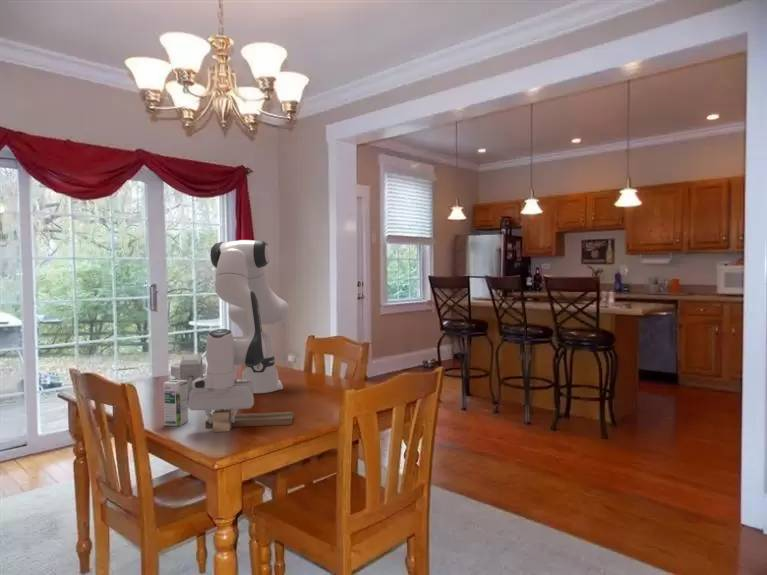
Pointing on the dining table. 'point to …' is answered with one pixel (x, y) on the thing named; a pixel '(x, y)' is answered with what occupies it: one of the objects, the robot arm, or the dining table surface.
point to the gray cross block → (176, 370)
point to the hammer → (191, 369)
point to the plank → (259, 419)
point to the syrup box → (175, 402)
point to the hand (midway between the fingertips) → (222, 422)
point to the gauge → (221, 420)
